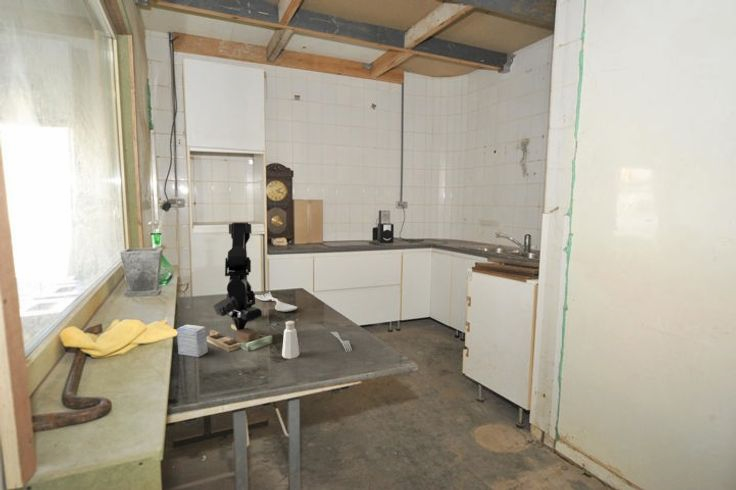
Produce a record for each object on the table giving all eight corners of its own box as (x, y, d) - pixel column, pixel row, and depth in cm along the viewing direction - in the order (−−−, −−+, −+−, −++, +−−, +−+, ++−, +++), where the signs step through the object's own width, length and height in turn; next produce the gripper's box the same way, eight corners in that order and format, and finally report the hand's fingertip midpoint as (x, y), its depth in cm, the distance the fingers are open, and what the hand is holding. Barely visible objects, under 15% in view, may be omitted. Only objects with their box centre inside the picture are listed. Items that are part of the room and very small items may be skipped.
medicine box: (208, 352, 124) (206, 326, 123) (197, 358, 120) (196, 331, 119) (188, 349, 127) (187, 323, 126) (177, 354, 122) (176, 328, 121)
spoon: (269, 297, 193) (269, 290, 193) (301, 312, 169) (301, 304, 168) (252, 300, 188) (252, 293, 187) (282, 316, 163) (282, 308, 163)
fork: (336, 338, 145) (336, 330, 145) (354, 353, 125) (353, 344, 125) (329, 339, 144) (329, 331, 144) (345, 354, 124) (345, 345, 124)
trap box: (233, 327, 148) (233, 321, 147) (272, 342, 132) (272, 335, 132) (198, 337, 137) (198, 330, 137) (236, 355, 122) (236, 347, 122)
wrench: (275, 323, 154) (275, 321, 153) (298, 338, 138) (298, 335, 138) (263, 326, 151) (263, 323, 151) (286, 341, 135) (286, 338, 135)
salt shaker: (291, 360, 119) (290, 325, 117) (278, 356, 121) (277, 322, 120) (302, 354, 123) (302, 321, 122) (290, 350, 126) (289, 318, 125)
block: (247, 338, 137) (246, 327, 137) (259, 343, 133) (259, 331, 133) (236, 342, 134) (235, 330, 133) (248, 346, 129) (248, 335, 129)
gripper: (202, 289, 134) (204, 333, 136) (232, 299, 122) (234, 346, 124) (231, 284, 142) (233, 325, 144) (262, 292, 131) (263, 336, 133)
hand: (240, 333), depth 136 cm, fingers closed
